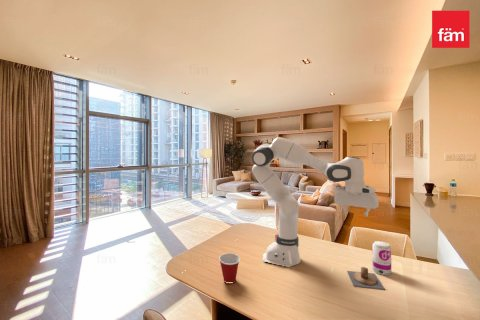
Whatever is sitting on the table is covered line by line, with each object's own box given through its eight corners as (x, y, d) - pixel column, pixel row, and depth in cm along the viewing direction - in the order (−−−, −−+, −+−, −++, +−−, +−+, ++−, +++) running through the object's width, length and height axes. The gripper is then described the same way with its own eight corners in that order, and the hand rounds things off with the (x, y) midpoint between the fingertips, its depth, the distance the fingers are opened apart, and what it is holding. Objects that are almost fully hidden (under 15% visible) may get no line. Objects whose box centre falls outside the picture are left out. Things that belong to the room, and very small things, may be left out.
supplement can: (394, 276, 109) (394, 247, 108) (376, 275, 110) (376, 246, 110) (386, 268, 117) (386, 240, 116) (370, 267, 118) (369, 240, 118)
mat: (353, 286, 102) (353, 285, 102) (347, 271, 114) (347, 270, 114) (385, 289, 99) (385, 288, 99) (374, 274, 111) (374, 273, 111)
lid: (356, 283, 103) (356, 273, 103) (350, 272, 112) (350, 262, 112) (380, 286, 100) (379, 275, 100) (372, 274, 110) (372, 264, 110)
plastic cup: (235, 289, 101) (234, 264, 101) (215, 284, 106) (214, 260, 106) (244, 277, 111) (243, 254, 111) (225, 273, 116) (225, 251, 115)
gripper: (331, 187, 116) (332, 212, 116) (375, 190, 102) (376, 219, 102) (336, 185, 121) (337, 210, 121) (379, 188, 106) (380, 216, 106)
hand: (355, 214), depth 111 cm, fingers open, 8 cm apart
